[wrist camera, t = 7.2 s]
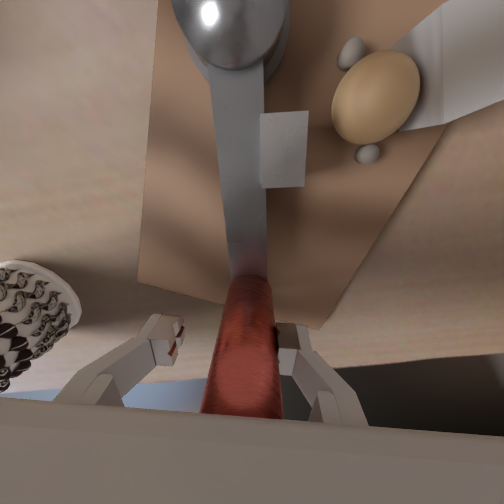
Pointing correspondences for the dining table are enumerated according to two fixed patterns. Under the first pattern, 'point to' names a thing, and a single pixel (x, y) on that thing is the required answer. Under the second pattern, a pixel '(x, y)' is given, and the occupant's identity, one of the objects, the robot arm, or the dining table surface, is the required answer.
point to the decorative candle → (31, 315)
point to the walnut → (375, 97)
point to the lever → (245, 191)
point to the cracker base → (318, 144)
